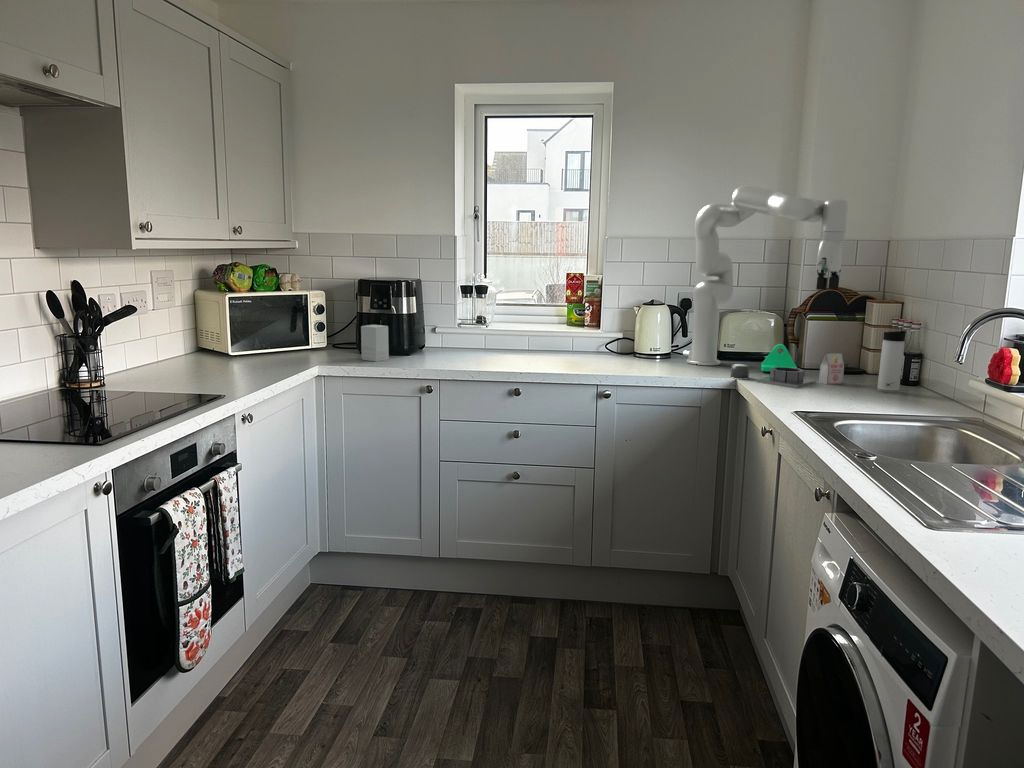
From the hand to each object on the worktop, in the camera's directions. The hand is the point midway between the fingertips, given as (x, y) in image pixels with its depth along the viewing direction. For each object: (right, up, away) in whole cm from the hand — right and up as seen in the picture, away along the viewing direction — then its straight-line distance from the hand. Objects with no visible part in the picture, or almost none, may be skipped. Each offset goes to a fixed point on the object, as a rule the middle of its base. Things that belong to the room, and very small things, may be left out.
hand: (827, 289), depth 259 cm
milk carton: (+1, -32, +1) cm, 32 cm away
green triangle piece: (-10, -28, +19) cm, 36 cm away
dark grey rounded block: (-28, -30, +7) cm, 41 cm away
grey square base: (-14, -31, -1) cm, 34 cm away
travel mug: (+14, -35, -13) cm, 40 cm away
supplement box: (-157, -23, +26) cm, 161 cm away
